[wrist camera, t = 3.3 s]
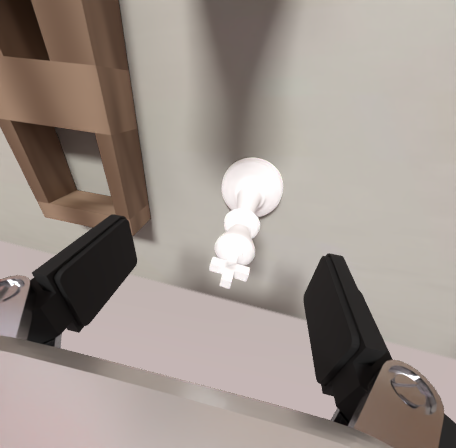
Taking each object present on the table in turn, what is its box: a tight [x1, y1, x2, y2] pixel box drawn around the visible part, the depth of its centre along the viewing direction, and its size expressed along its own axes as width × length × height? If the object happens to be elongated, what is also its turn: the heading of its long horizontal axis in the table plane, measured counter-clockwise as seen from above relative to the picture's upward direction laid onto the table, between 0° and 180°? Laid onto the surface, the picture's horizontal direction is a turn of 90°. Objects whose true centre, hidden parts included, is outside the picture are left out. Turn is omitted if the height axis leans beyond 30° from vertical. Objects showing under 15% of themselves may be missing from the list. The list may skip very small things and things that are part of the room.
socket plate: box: [0, 0, 151, 236], centre depth 14 cm, size 9×18×3 cm, turn 175°
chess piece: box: [209, 157, 283, 289], centre depth 12 cm, size 5×5×10 cm
